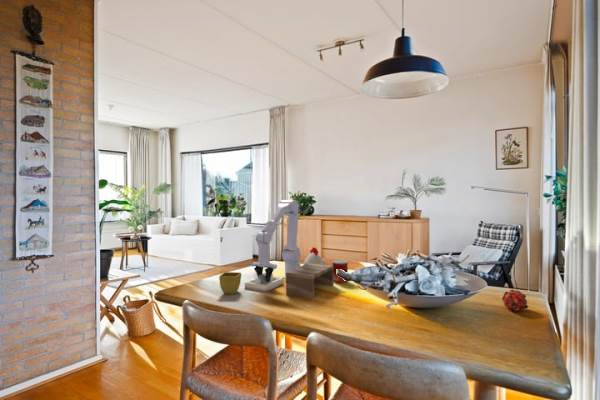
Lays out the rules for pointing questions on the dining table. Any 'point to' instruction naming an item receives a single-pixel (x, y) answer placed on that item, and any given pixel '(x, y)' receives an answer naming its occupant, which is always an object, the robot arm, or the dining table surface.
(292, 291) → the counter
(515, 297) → the dragon fruit
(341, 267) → the canned food
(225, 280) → the flower pot
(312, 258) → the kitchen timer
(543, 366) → the dining table surface
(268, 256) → the robot arm
